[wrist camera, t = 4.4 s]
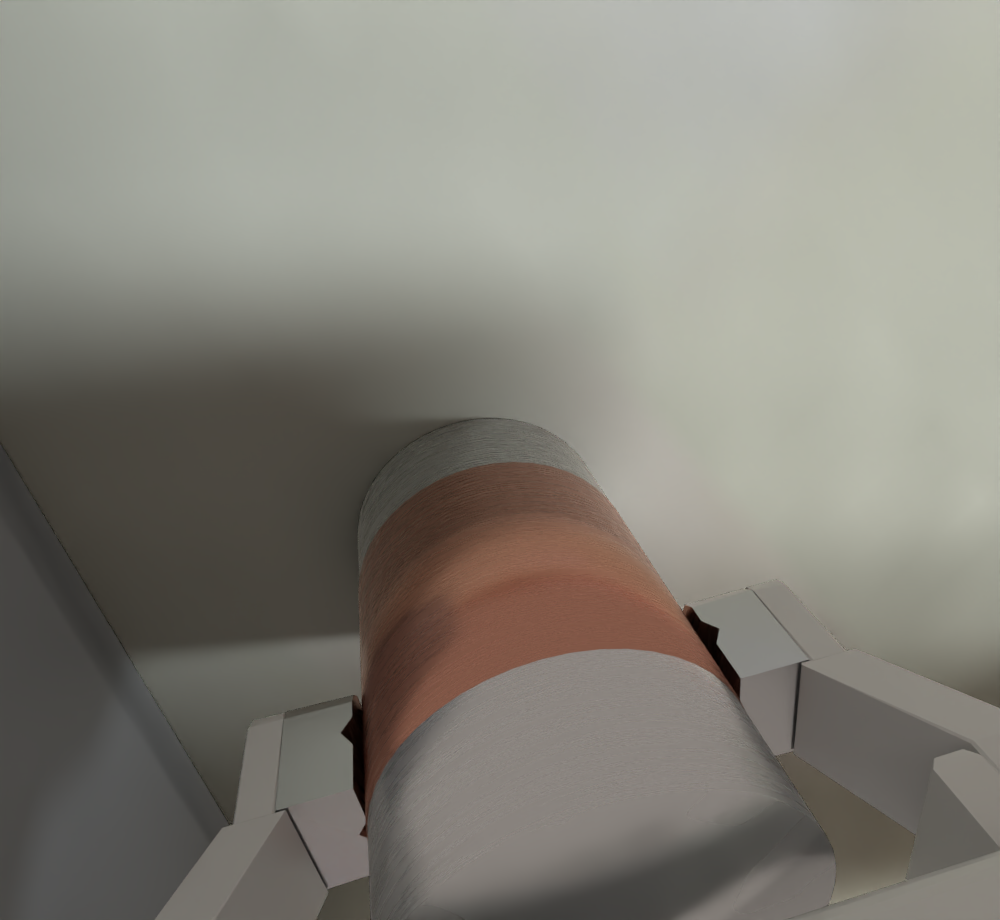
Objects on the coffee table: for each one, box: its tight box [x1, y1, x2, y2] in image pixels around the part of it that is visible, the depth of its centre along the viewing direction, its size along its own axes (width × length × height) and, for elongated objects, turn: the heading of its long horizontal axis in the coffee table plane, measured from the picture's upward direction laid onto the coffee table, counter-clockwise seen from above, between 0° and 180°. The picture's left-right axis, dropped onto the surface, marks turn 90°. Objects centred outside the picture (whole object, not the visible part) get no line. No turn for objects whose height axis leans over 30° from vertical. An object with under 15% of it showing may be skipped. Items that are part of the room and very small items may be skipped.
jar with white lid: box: [358, 418, 836, 920], centre depth 11 cm, size 5×5×8 cm
